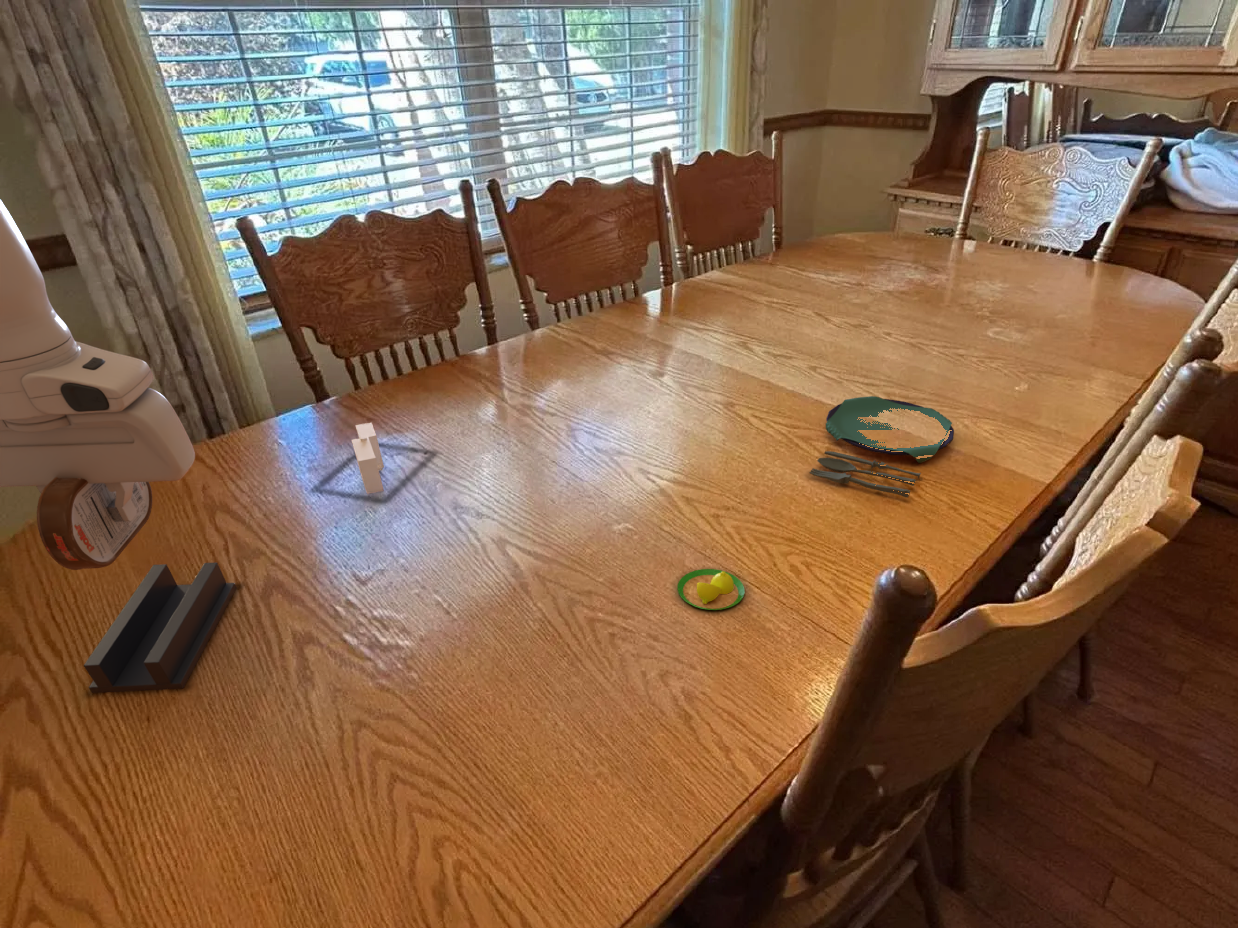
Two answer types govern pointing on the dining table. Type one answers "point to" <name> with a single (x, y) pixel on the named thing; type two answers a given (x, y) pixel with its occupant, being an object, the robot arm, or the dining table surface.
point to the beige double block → (368, 457)
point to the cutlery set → (846, 427)
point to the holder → (160, 632)
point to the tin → (87, 522)
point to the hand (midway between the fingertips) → (106, 519)
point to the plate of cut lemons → (712, 586)
